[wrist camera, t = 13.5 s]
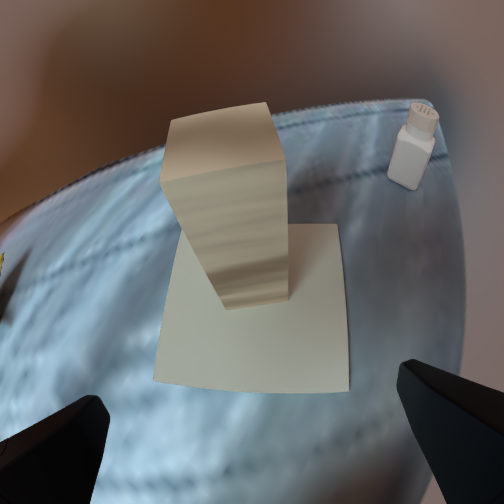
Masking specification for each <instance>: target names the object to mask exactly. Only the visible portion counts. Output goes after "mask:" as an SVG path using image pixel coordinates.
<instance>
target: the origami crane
mask: <svg viewBox="0 0 504 504" xmlns="http://www.w3.org/2000/svg"><path fill="white" fill-rule="evenodd" d="M4 253H5V252H4ZM4 253H2V254H1V256H0V276H1V269H2V263H3V261H4V258H3V256H4ZM0 317H1V316H0Z"/></svg>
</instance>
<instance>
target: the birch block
mask: <svg viewBox="0 0 504 504" xmlns="http://www.w3.org/2000/svg"><path fill="white" fill-rule="evenodd" d="M159 184H160V186H161V188H162V190H163V192H164V194H165V196H166V198H167V200H168V202H169V204H170V206H171V208H172V210H173V212H174V214H175V216H176V218H177V220H178V222H179V224H180V226H181V228H182V230H183V232H184V234H185V236H186V237H187V239H188V241H189V243H190V245H191V247H192V249H193V251H194V253H195V255H196V256H197V258H198V260H199V262H200V264H201V266H202V268H203V269H204V271H205V273H206V275H207V277H208V279H209V280H210V282H211V284H212V286H213V288H214V290H215V291H216V293H217V295H218V297H219V298H220V300H221V302H222V304H223V306H224V307H225V309H226V310H232V309H240V308H246V307H253V306H260V305H266V304H273V303H279V302H285V301H288V210H287V176H286V158H285V155H284V152H283V149H282V146H281V143H280V140H279V138H278V135H277V132H276V129H275V126H274V123H273V120H272V118H271V115H270V112H269V109H268V107H267V104H266V102H264V103H257V104H250V105H243V106H237V107H231V108H225V109H220V110H215V111H210V112H205V113H200V114H196V115H191V116H187V117H183V118H179V119H175V120H172V121H171V124H170V129H169V133H168V138H167V143H166V147H165V152H164V158H163V163H162V168H161V174H160V180H159Z"/></svg>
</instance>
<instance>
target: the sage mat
mask: <svg viewBox="0 0 504 504" xmlns="http://www.w3.org/2000/svg"><path fill="white" fill-rule="evenodd" d="M153 381H156V382H162V383H168V384H174V385H181V386H188V387H196V388H204V389H213V390H223V391H235V392H250V393H274V394H315V393H339V392H349V356H348V331H347V314H346V300H345V288H344V277H343V267H342V258H341V249H340V241H339V234H338V226H337V224H288V301H285V302H279V303H273V304H266V305H260V306H253V307H246V308H240V309H232V310H226V309H225V307H224V306H223V304H222V302H221V300H220V298H219V297H218V295H217V293H216V291H215V290H214V288H213V286H212V284H211V282H210V280H209V279H208V277H207V275H206V273H205V271H204V269H203V268H202V266H201V264H200V262H199V260H198V258H197V256H196V255H195V253H194V251H193V249H192V247H191V245H190V243H189V241H188V239H187V237H186V236H185V234H184V232H183V230H182V231H181V235H180V239H179V243H178V247H177V251H176V256H175V260H174V265H173V269H172V274H171V278H170V283H169V288H168V293H167V298H166V303H165V308H164V313H163V319H162V324H161V330H160V336H159V342H158V348H157V355H156V361H155V368H154V375H153Z"/></svg>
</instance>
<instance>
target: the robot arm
mask: <svg viewBox="0 0 504 504" xmlns="http://www.w3.org/2000/svg"><path fill="white" fill-rule="evenodd" d="M397 391H398V394H399V397H400V399H401V402H402V404H403V407H404V410H405V412H406V415H407V418H408V421H409V423H410V426H411V429H412V431H413V433H414V435H415V437H416V439H417V441H418V443H419V445H420V447H421V449H422V451H423V453H424V456H425V458H426V460H427V462H428V464H429V466H430V468H431V470H432V472H433V474H434V476H435V479H436V481H437V483H438V485H439V487H440V489H441V492H442V494H443V496H444V499H445V501H446V503H447V504H504V393H503V392H501V391H498V390H495V389H491V388H489V387H486V386H483V385H481V384H478V383H475V382H473V381H470V380H467V379H464V378H462V377H459V376H456V375H454V374H451V373H449V372H446V371H443V370H441V369H438V368H436V367H433V366H430V365H428V364H425V363H423V362H420V361H418V360H415V359H411V360H408V361H405V362H402V363H401V364H400V366H399V372H398V378H397ZM109 424H110V415H109V412H108V411H107V409H106V407H105V406H104V404H103V402H102V400H101V399H100V397H98V396H96V395H86V396H84V397H82V398H80V399H79V400H77V401H75V402H73V403H72V404H70V405H68V406H66V407H65V408H63V409H61V410H59V411H57V412H56V413H54V414H52V415H50V416H49V417H47V418H45V419H43V420H41V421H39V422H38V423H36V424H34V425H32V426H30V427H28V428H26V429H25V430H23V431H21V432H19V433H17V434H15V435H13V436H11V437H10V438H7V439H5V440H4V441H2V442H0V504H90V501H91V497H92V493H93V490H94V486H95V482H96V479H97V475H98V472H99V468H100V465H101V462H102V458H103V453H104V448H105V443H106V438H107V433H108V429H109Z"/></svg>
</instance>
